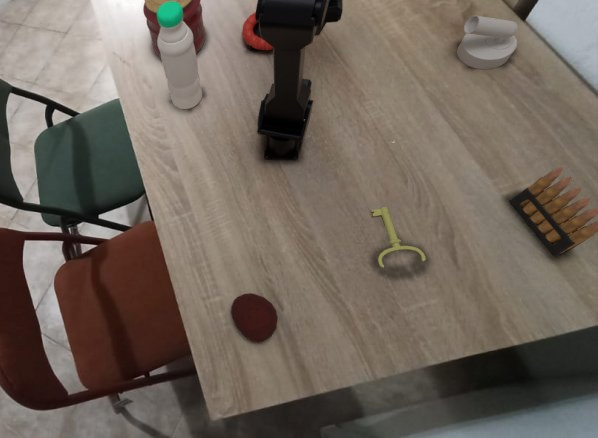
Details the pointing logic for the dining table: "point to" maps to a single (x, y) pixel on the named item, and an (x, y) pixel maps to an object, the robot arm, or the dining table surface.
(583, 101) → the dining table surface
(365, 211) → the dining table surface
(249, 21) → the red ring
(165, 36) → the water bottle
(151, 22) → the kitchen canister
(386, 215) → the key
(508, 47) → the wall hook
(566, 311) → the dining table surface
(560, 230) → the ammunition clip
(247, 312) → the potato
